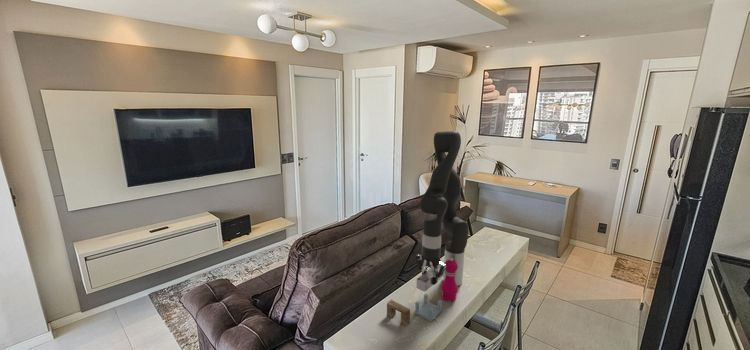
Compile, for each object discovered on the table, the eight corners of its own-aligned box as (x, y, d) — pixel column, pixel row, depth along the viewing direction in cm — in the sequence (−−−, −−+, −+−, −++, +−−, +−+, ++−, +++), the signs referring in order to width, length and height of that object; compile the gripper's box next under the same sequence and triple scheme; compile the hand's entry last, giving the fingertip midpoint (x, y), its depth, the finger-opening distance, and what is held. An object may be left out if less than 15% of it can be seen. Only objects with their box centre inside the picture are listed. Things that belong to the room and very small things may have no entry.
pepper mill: (454, 292, 147) (457, 253, 143) (458, 302, 140) (462, 261, 136) (439, 292, 147) (441, 253, 142) (442, 302, 140) (445, 261, 135)
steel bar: (436, 272, 139) (436, 263, 138) (444, 275, 136) (445, 266, 135) (416, 287, 127) (416, 279, 126) (424, 291, 124) (425, 282, 123)
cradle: (425, 302, 140) (426, 292, 138) (441, 310, 134) (442, 300, 133) (414, 313, 133) (414, 302, 132) (430, 321, 128) (431, 310, 127)
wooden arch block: (391, 312, 133) (391, 299, 132) (409, 322, 127) (410, 309, 126) (386, 315, 131) (387, 303, 130) (405, 326, 125) (406, 313, 124)
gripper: (411, 241, 128) (410, 279, 132) (442, 252, 119) (440, 292, 123) (421, 236, 134) (419, 272, 138) (452, 246, 125) (449, 284, 129)
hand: (429, 281), depth 130 cm, fingers closed on steel bar, 4 cm apart
